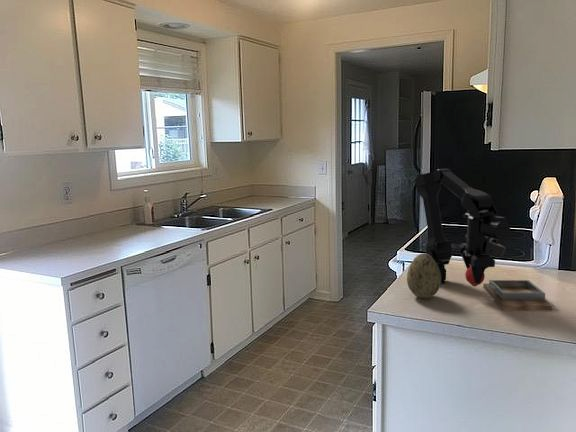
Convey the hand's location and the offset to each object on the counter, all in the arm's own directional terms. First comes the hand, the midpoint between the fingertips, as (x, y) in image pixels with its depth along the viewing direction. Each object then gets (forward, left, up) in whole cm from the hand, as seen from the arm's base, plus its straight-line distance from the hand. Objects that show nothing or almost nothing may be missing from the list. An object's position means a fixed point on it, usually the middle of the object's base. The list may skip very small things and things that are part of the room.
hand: (474, 280), depth 151 cm
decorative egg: (-16, 0, -6) cm, 17 cm away
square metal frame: (+13, 0, -4) cm, 14 cm away
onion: (0, 0, -2) cm, 2 cm away
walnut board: (+13, 0, -6) cm, 14 cm away
